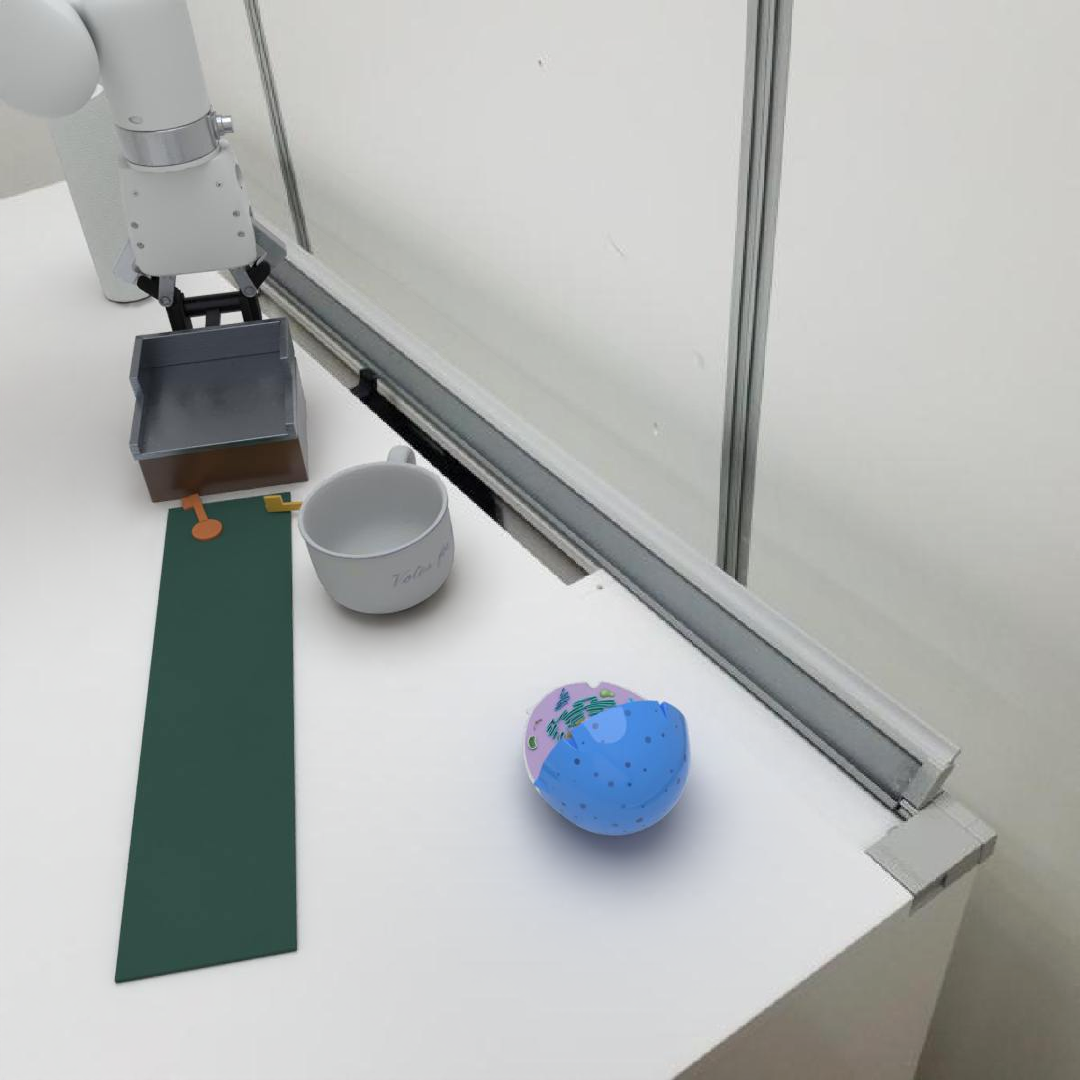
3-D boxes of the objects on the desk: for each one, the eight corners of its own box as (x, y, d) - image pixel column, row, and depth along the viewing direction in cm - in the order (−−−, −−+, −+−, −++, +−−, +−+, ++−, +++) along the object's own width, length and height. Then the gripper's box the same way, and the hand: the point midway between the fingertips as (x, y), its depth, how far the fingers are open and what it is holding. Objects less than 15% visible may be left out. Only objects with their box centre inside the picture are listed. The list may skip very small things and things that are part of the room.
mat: (169, 511, 95) (168, 508, 95) (290, 494, 96) (290, 491, 96) (115, 983, 64) (114, 980, 64) (297, 950, 65) (295, 947, 64)
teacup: (422, 649, 82) (409, 566, 77) (289, 617, 85) (267, 535, 80) (495, 528, 92) (487, 447, 86) (373, 502, 95) (359, 423, 89)
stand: (163, 421, 105) (148, 375, 102) (305, 402, 106) (295, 356, 103) (152, 502, 96) (135, 454, 93) (308, 480, 97) (297, 432, 94)
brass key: (335, 490, 92) (334, 493, 92) (343, 513, 94) (342, 516, 93) (262, 495, 93) (261, 497, 93) (271, 518, 95) (270, 520, 94)
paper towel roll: (139, 307, 121) (76, 104, 107) (92, 299, 123) (24, 99, 109) (178, 275, 126) (123, 77, 112) (133, 268, 128) (73, 72, 114)
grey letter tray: (150, 340, 105) (137, 299, 102) (293, 321, 106) (284, 281, 103) (134, 461, 92) (119, 418, 89) (297, 438, 93) (287, 396, 90)
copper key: (195, 542, 91) (196, 544, 91) (225, 532, 92) (226, 535, 92) (179, 498, 95) (180, 501, 96) (207, 490, 96) (208, 492, 96)
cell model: (633, 699, 77) (634, 597, 71) (719, 838, 69) (728, 736, 63) (494, 746, 75) (483, 645, 69) (566, 897, 66) (560, 797, 60)
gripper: (276, 108, 96) (314, 302, 108) (67, 130, 94) (129, 324, 106) (275, 143, 90) (315, 344, 102) (52, 167, 89) (119, 367, 100)
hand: (220, 332), depth 104 cm, fingers closed on grey letter tray, 5 cm apart
